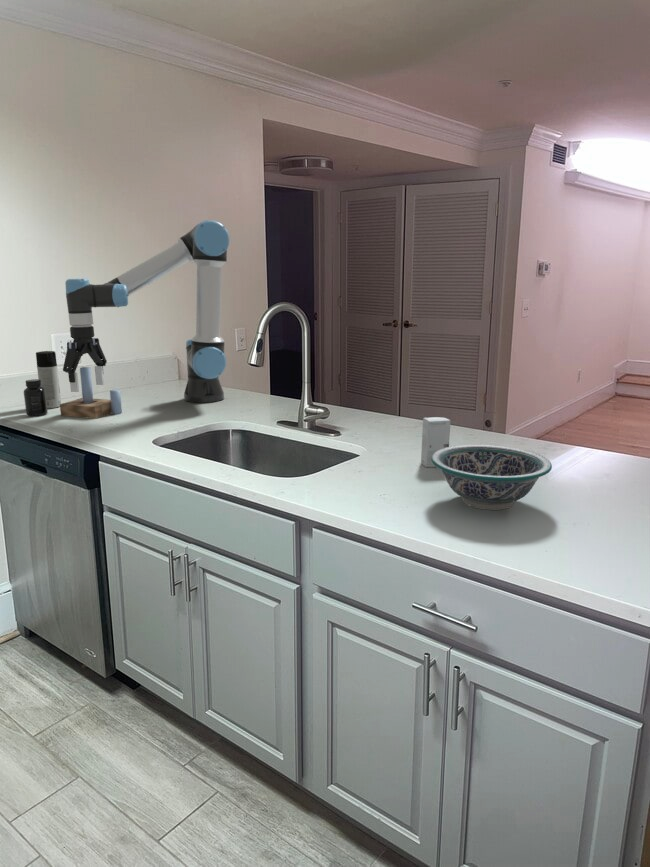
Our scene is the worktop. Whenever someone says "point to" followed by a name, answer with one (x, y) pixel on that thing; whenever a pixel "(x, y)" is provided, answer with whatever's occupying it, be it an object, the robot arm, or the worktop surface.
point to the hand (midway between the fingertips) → (88, 388)
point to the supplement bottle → (35, 398)
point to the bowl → (490, 473)
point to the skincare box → (434, 438)
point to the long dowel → (86, 385)
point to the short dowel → (115, 401)
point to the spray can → (49, 377)
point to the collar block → (86, 408)
